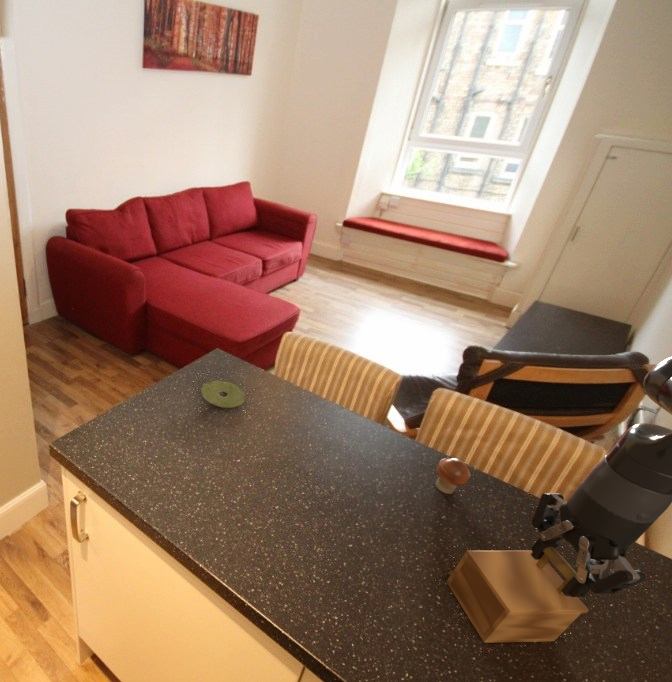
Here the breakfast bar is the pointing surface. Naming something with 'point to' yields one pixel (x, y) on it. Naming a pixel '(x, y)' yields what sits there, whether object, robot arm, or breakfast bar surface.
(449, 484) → the mushroom
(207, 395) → the green disc with hole
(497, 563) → the lid
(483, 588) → the breadbox
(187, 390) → the breakfast bar surface
